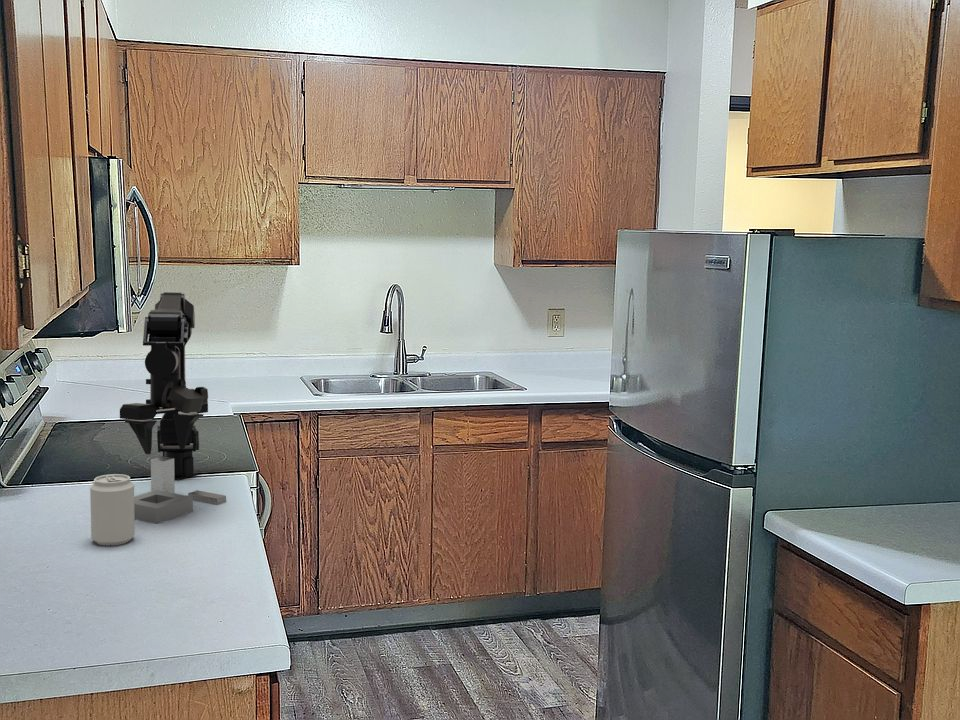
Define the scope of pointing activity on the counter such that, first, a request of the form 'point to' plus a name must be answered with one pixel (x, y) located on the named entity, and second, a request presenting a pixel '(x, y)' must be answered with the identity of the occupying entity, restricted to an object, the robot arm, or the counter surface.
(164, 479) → the square bit
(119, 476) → the can
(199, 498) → the flat bit
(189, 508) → the bore block
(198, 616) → the counter surface
